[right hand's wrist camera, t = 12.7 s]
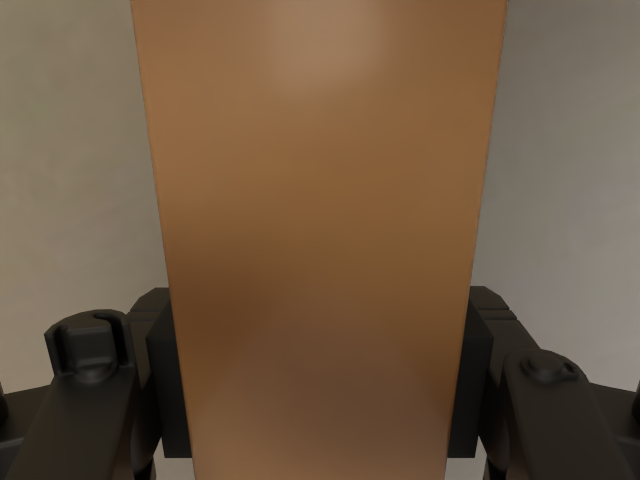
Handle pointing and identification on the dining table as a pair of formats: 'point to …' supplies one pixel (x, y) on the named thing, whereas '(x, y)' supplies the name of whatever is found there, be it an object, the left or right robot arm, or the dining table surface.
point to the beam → (319, 223)
